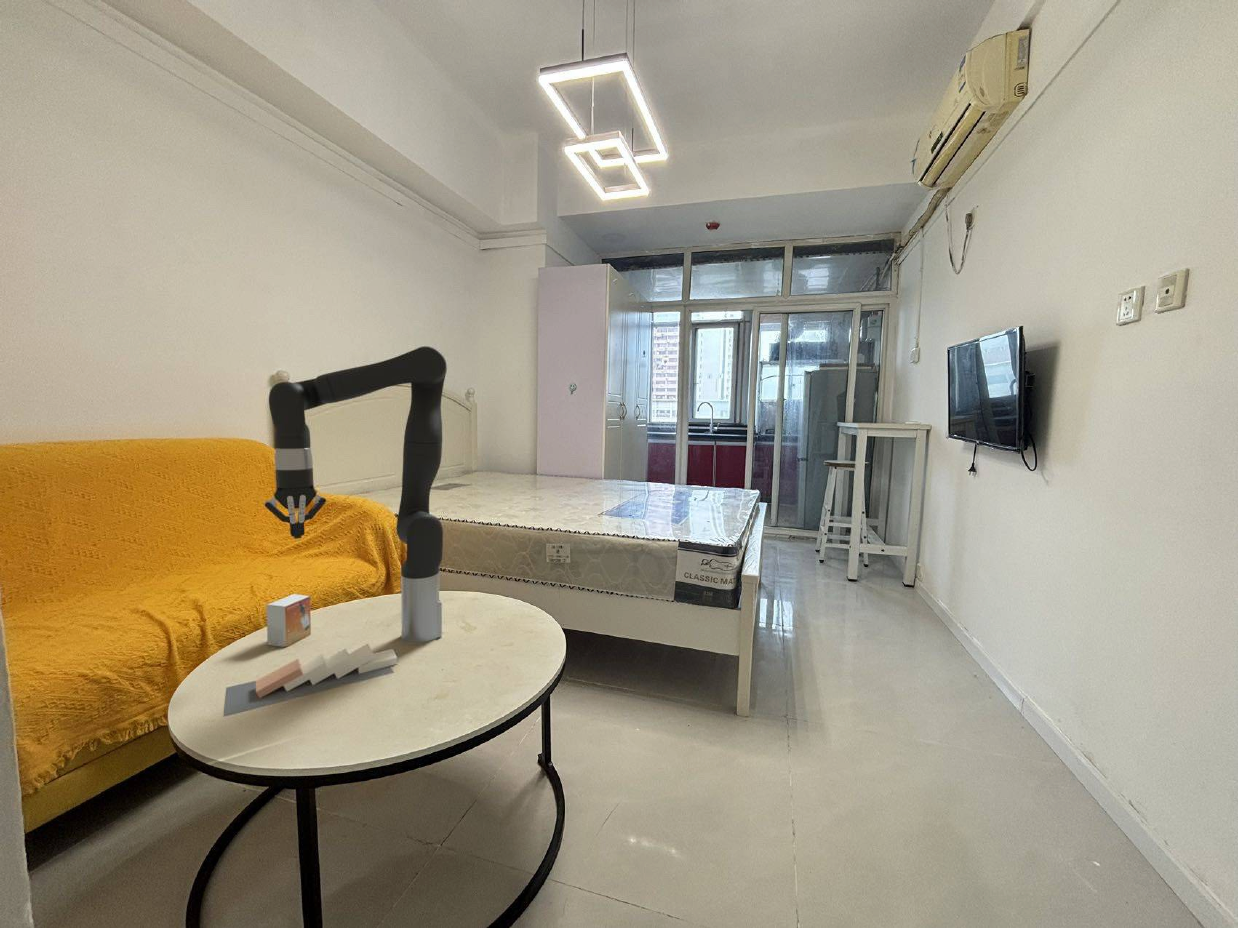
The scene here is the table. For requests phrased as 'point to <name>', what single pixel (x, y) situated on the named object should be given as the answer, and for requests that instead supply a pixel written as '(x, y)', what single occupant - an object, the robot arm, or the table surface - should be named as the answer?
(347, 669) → the domino
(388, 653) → the domino
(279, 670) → the domino
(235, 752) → the table surface
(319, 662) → the domino
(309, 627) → the small box
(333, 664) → the domino
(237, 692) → the mat
